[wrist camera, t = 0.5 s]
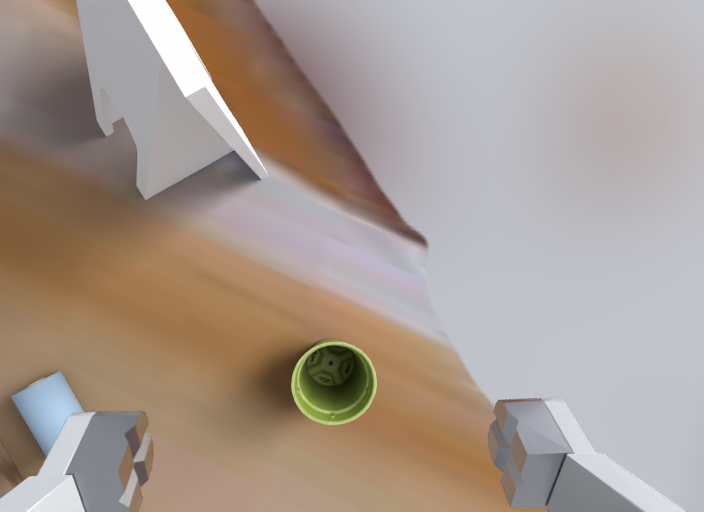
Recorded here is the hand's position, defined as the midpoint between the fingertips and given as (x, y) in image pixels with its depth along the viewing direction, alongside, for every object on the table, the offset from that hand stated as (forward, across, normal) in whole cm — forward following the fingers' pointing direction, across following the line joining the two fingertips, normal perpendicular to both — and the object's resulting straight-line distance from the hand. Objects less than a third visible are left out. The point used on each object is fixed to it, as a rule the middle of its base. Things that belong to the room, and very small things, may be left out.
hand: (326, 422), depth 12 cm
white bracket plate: (+53, -16, -9) cm, 56 cm away
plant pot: (+41, +3, -35) cm, 53 cm away
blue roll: (+38, -29, -39) cm, 62 cm away
